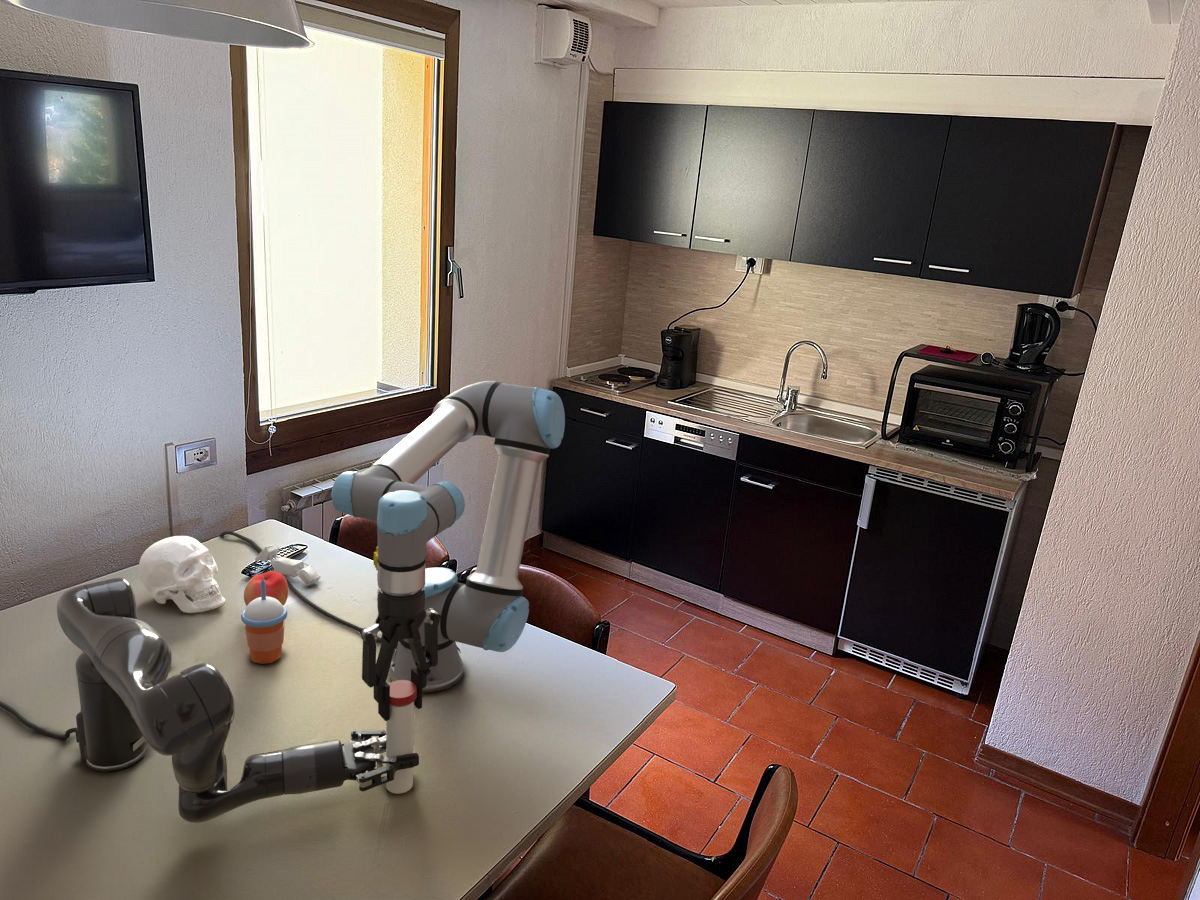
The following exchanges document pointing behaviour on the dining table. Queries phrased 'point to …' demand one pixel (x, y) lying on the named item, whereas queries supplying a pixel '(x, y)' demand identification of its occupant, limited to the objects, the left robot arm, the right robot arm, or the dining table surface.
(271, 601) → the cup with straw
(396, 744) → the bottle
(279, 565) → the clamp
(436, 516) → the right robot arm
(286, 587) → the apple
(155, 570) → the skull
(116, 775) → the dining table surface
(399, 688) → the lid
